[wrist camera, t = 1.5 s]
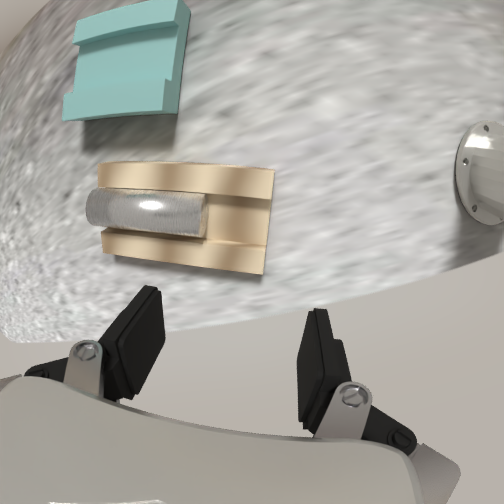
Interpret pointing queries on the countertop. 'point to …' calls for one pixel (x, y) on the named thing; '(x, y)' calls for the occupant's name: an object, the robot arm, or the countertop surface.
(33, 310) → the countertop surface
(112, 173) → the wooden grooved block
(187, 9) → the cradle
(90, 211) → the axle
